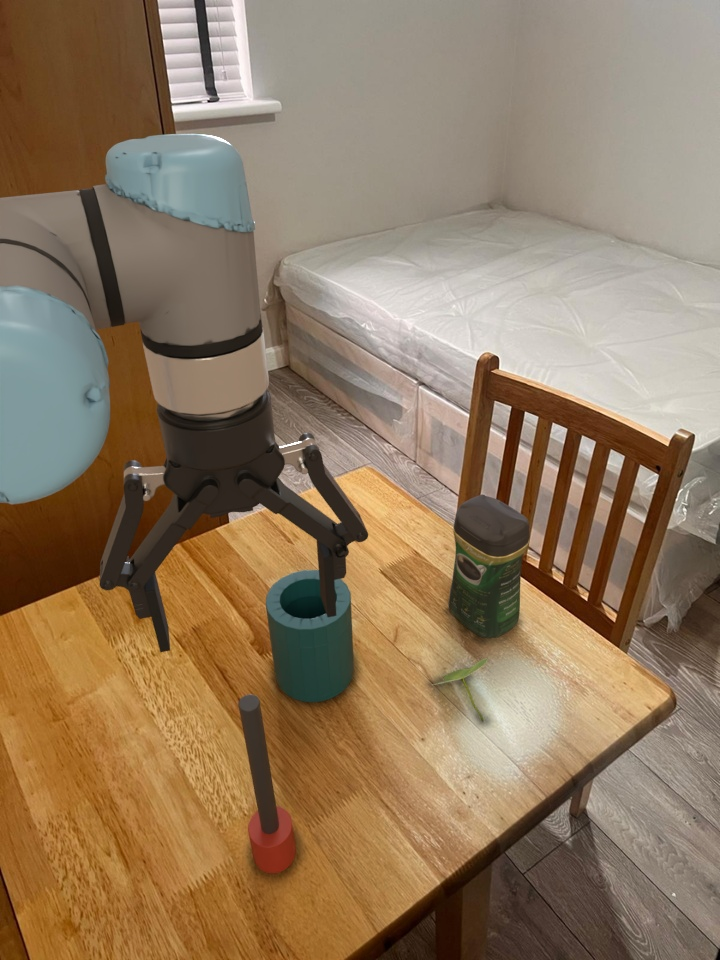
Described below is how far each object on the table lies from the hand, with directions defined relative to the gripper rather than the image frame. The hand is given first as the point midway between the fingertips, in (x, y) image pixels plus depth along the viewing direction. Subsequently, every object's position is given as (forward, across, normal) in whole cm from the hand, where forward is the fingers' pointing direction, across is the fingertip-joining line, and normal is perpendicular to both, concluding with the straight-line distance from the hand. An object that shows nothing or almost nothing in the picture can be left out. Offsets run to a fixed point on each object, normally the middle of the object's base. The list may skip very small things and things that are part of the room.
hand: (248, 622), depth 60 cm
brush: (+31, +1, +2) cm, 31 cm away
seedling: (+31, -24, -11) cm, 41 cm away
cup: (+31, -8, -20) cm, 38 cm away
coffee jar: (+31, -33, -23) cm, 51 cm away
